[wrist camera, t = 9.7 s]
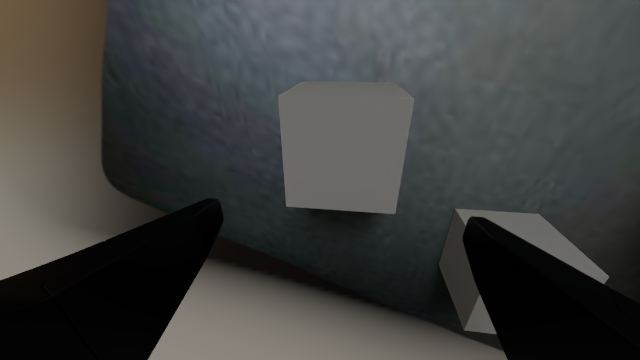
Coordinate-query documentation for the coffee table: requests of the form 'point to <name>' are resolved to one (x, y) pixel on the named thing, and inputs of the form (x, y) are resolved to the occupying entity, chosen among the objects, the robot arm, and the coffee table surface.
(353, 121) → the grey piece
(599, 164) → the coffee table surface
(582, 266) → the grey stool
